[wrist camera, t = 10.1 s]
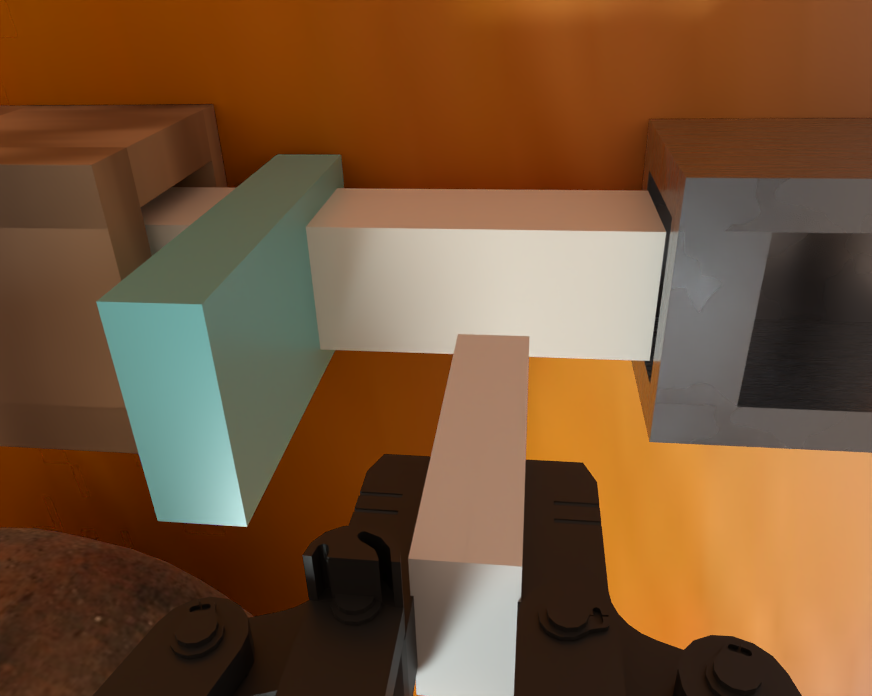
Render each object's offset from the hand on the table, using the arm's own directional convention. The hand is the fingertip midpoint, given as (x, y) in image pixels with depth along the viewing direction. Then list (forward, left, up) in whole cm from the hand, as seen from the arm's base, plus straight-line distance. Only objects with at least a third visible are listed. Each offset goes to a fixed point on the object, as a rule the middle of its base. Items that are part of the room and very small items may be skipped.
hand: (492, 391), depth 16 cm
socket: (+13, 0, -9) cm, 16 cm away
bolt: (+4, 0, -8) cm, 9 cm away
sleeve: (-8, 0, -9) cm, 12 cm away
